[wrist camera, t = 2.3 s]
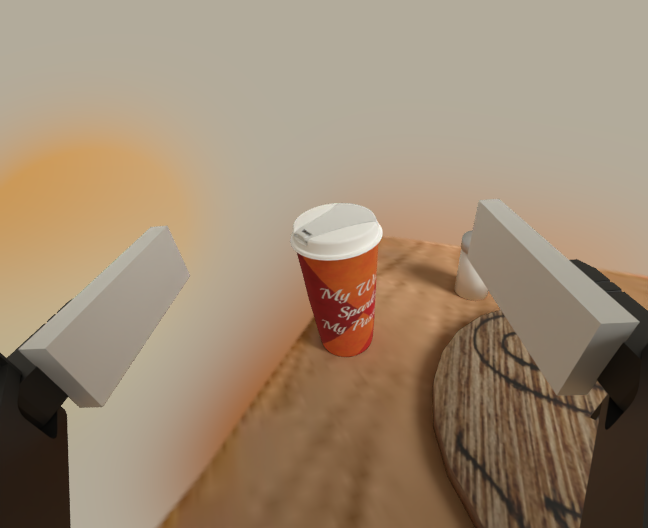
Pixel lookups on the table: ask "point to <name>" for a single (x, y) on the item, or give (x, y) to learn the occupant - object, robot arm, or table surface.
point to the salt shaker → (468, 275)
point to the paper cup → (340, 272)
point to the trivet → (511, 431)
